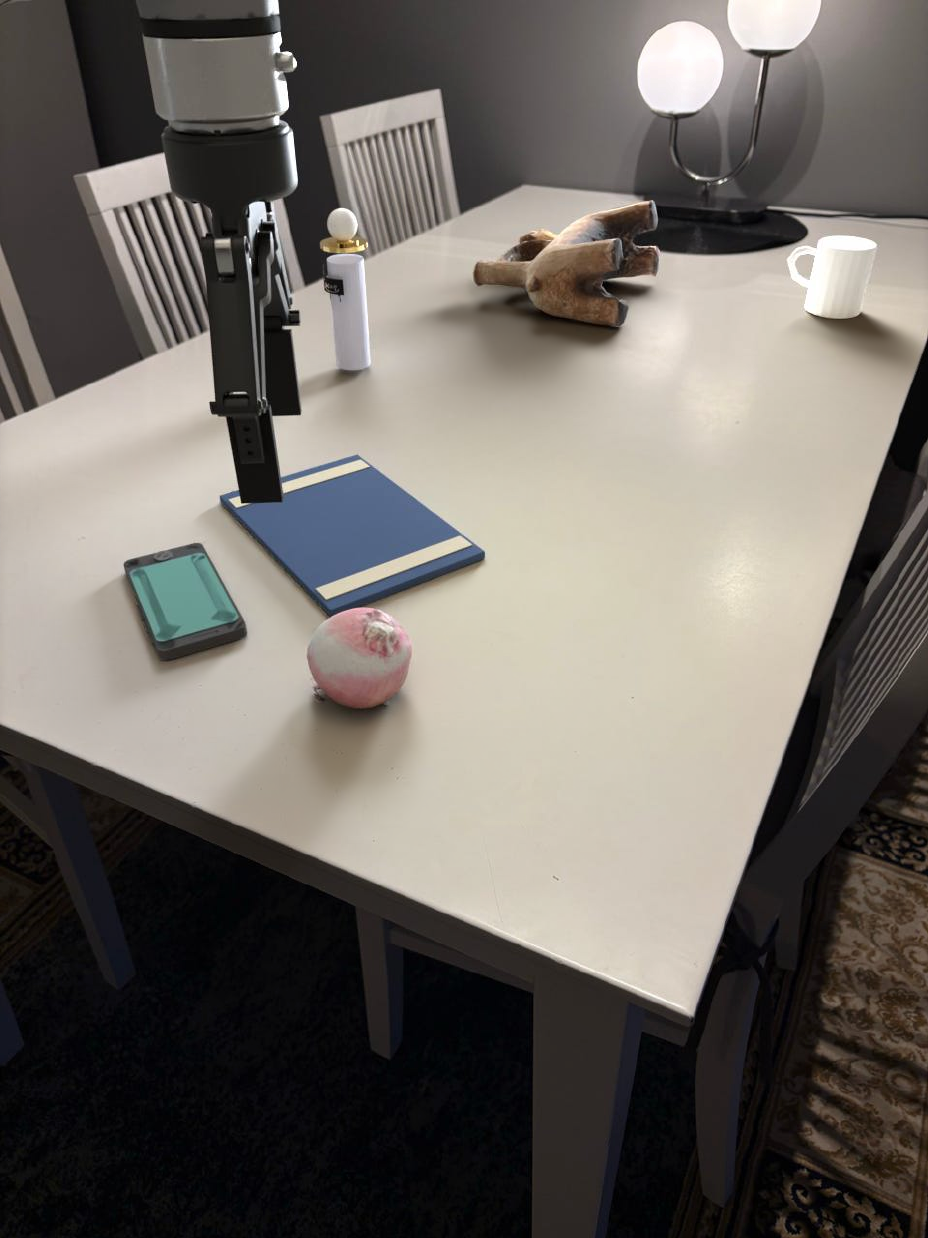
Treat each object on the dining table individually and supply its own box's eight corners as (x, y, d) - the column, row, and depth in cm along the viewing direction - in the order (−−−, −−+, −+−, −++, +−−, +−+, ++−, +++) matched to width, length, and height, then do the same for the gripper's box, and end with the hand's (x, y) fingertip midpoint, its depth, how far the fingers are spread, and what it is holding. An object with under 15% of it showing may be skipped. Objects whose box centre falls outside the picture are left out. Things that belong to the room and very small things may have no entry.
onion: (385, 738, 65) (379, 661, 61) (290, 712, 67) (278, 636, 63) (428, 671, 71) (425, 596, 67) (340, 649, 73) (331, 575, 69)
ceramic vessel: (665, 181, 144) (516, 190, 154) (619, 249, 123) (449, 255, 132) (666, 263, 152) (524, 267, 162) (623, 340, 131) (463, 340, 140)
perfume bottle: (358, 357, 124) (346, 200, 112) (384, 369, 121) (374, 208, 109) (323, 368, 121) (307, 207, 109) (348, 381, 118) (334, 216, 106)
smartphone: (200, 539, 85) (247, 624, 74) (202, 550, 85) (249, 636, 75) (119, 559, 82) (155, 651, 71) (122, 571, 83) (158, 663, 72)
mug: (778, 297, 144) (791, 232, 138) (858, 304, 141) (875, 237, 135) (777, 314, 138) (791, 246, 132) (861, 321, 135) (879, 252, 129)
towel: (220, 502, 93) (218, 494, 92) (357, 460, 100) (357, 453, 99) (331, 618, 77) (330, 609, 76) (485, 558, 84) (485, 550, 83)
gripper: (265, 162, 43) (313, 543, 56) (308, 90, 63) (336, 383, 76) (104, 165, 43) (189, 548, 55) (198, 92, 63) (245, 386, 75)
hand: (274, 453), depth 66 cm, fingers open, 13 cm apart
